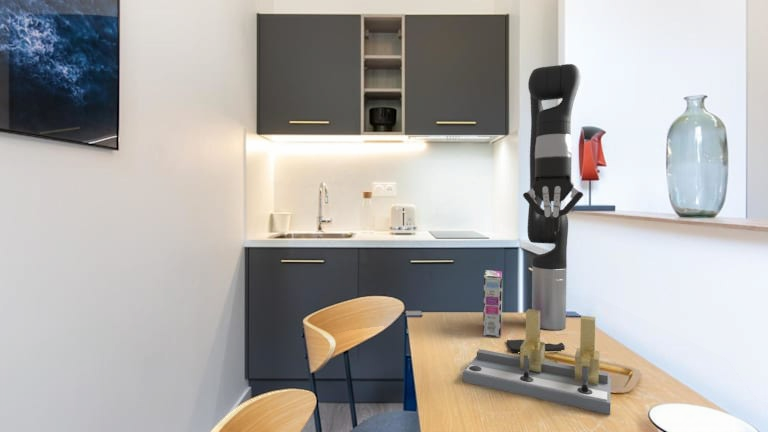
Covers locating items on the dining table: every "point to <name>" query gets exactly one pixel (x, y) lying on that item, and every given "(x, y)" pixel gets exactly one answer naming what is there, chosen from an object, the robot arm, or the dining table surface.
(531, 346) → the slider
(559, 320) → the robot arm
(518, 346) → the dark sector wedge
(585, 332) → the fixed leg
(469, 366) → the board
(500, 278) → the candy bar box
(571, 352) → the dining table surface
